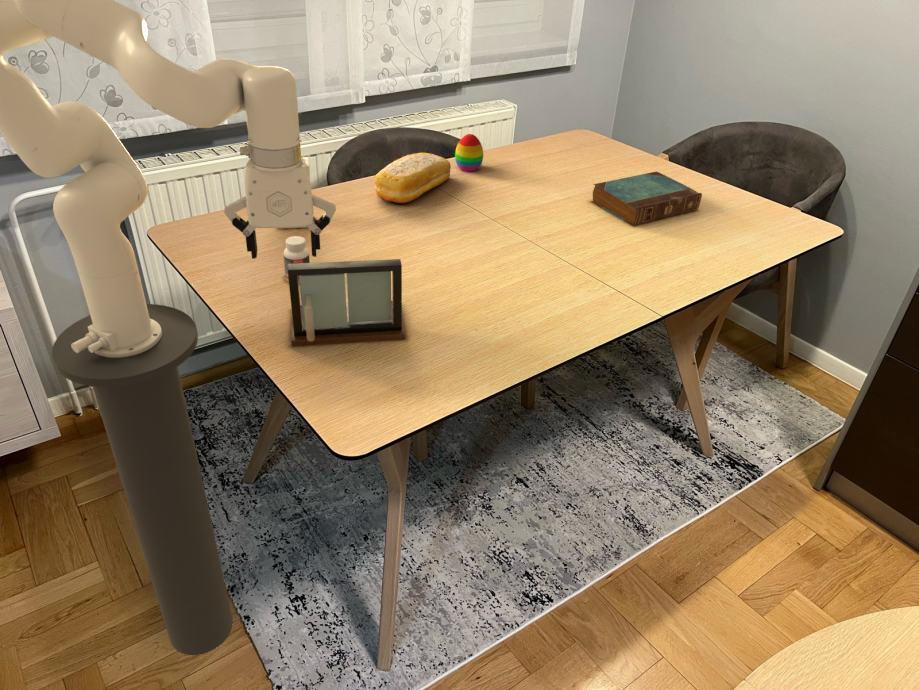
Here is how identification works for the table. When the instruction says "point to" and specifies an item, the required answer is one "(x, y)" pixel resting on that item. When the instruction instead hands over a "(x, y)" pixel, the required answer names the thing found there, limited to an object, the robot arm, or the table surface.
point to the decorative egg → (469, 153)
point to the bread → (411, 177)
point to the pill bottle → (295, 253)
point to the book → (645, 198)
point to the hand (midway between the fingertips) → (284, 253)
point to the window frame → (355, 302)
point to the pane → (322, 301)
